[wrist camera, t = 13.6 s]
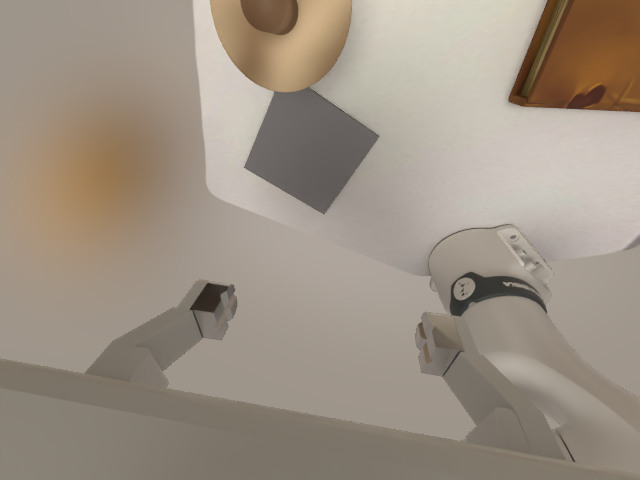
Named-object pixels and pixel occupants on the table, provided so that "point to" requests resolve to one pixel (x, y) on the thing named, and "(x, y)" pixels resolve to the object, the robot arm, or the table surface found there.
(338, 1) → the oak lid
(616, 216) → the table surface
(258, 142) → the rubber mat
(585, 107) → the diary
